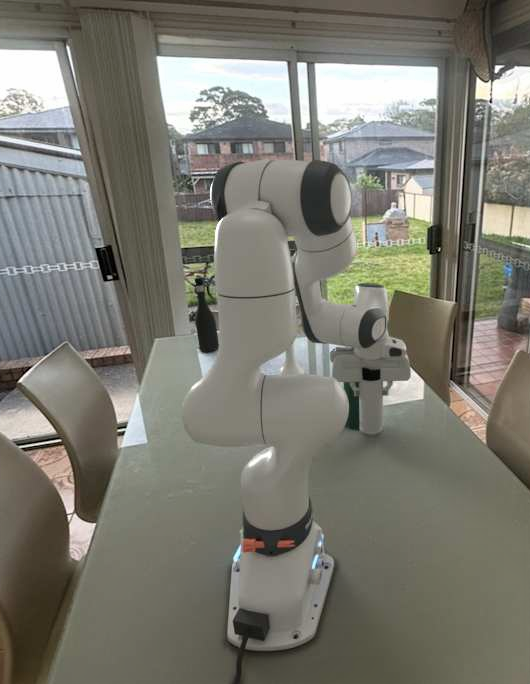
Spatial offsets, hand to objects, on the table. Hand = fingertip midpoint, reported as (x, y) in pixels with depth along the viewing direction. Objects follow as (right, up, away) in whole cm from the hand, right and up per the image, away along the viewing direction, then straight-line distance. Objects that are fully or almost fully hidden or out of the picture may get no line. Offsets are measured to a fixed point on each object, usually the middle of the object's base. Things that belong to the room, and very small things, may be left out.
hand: (371, 395), depth 115 cm
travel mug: (0, -11, +4) cm, 11 cm away
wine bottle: (-92, +28, +69) cm, 118 cm away
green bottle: (-4, -10, +13) cm, 17 cm away
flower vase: (-27, 0, +39) cm, 47 cm away
